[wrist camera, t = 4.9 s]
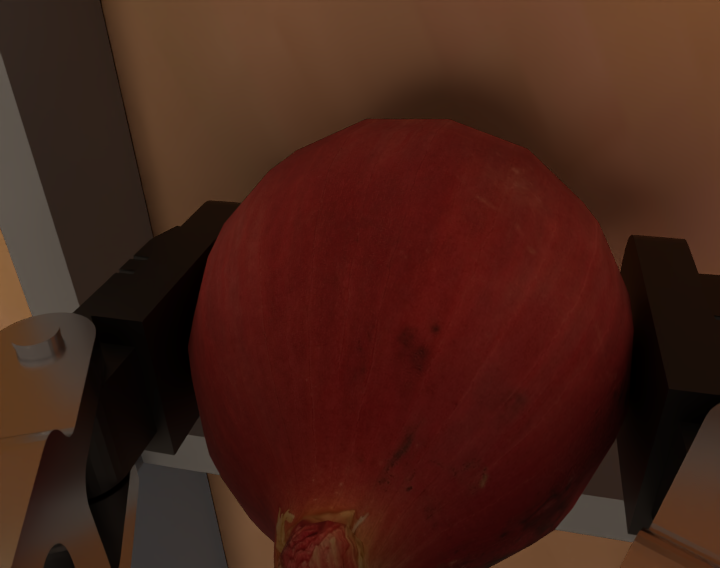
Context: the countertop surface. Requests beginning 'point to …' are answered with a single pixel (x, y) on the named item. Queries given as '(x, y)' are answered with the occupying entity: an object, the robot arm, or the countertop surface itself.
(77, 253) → the channel organiser
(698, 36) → the countertop surface
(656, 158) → the countertop surface
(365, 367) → the pomegranate
